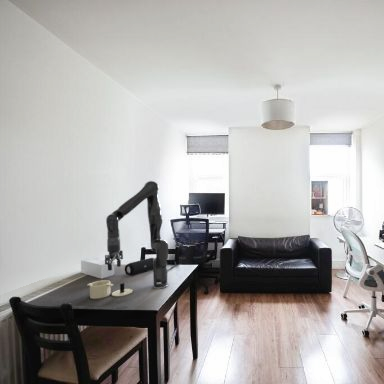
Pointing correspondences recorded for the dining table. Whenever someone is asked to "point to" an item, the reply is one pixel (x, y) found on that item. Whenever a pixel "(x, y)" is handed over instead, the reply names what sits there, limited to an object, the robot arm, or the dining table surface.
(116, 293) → the lid
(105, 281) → the pot
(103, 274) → the white box
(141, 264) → the portable speaker
